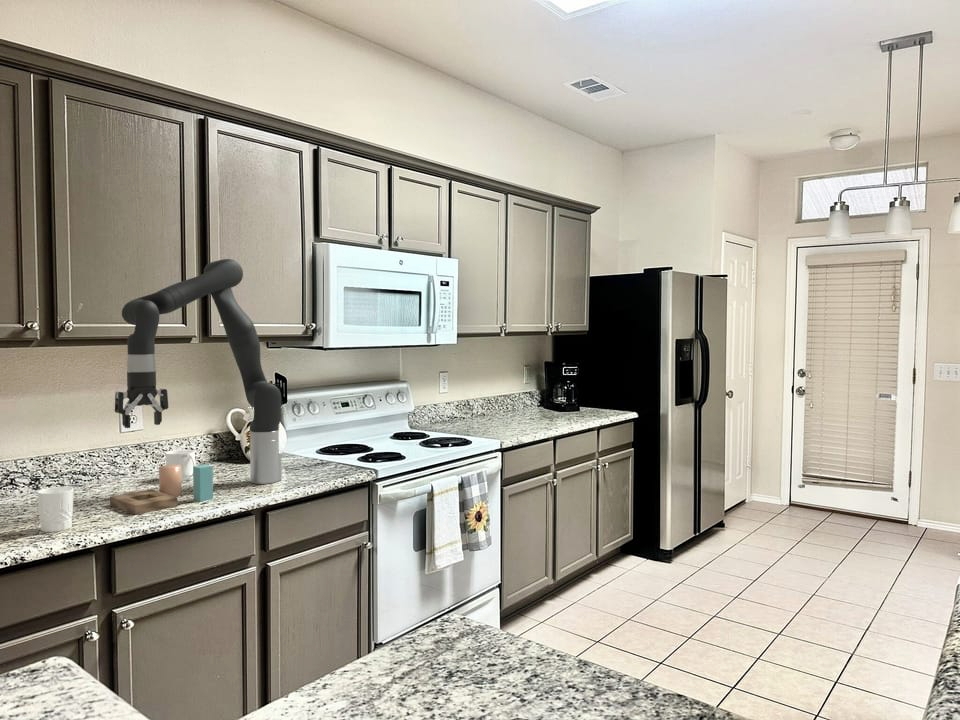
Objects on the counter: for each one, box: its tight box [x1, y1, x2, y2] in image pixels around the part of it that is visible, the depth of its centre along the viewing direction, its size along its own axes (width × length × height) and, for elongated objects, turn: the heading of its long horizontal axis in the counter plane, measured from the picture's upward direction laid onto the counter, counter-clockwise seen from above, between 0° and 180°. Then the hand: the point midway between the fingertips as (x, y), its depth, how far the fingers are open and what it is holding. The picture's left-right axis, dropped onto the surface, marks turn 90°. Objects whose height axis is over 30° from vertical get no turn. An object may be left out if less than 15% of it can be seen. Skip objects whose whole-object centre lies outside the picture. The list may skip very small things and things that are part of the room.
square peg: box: [192, 464, 214, 502], centre depth 208 cm, size 4×4×10 cm
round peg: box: [158, 464, 183, 497], centre depth 212 cm, size 6×6×9 cm
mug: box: [165, 449, 198, 482], centre depth 235 cm, size 12×9×9 cm
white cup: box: [36, 486, 74, 533], centre depth 176 cm, size 8×8×10 cm
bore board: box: [109, 489, 179, 516], centre depth 200 cm, size 12×16×2 cm
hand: (142, 426), depth 199 cm, fingers open, 8 cm apart
